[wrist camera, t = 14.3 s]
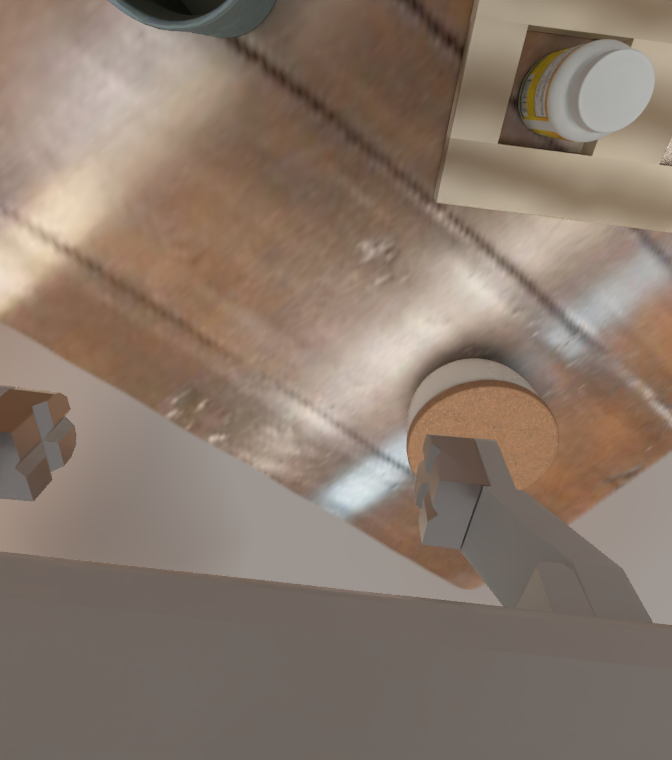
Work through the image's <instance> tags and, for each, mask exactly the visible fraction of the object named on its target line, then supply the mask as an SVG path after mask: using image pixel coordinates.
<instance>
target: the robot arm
mask: <svg viewBox="0 0 672 760" xmlns="http://www.w3.org/2000/svg"><path fill="white" fill-rule="evenodd" d="M69 411H70V407H69V403H68V399H67V397H66V396H64V395H63V394H61V393H58V392H50V391H42V390H35V389H27V388H20V387H17V388H16V387H11V386H1V385H0V499H12V500H24V501H34V500H35V499H36V498H37V497H38V496H39V494H40V493H41V492H42V491H43V490H44V489H45V488H46V486H47V485H48V484H49V483H50V482H51V481H52V474H51V472H52V471H54V470H56V469H58V468H60V467H62V466H64V465H65V464H66V463H67V461H68V460H69V459H70V458H71V456H72V454H73V451H74V448H75V445H76V432H75V427H74V425H73V424H72V423H71V422H70V421H69V420H68V419H67V418H66V415H67V414H68V412H69ZM423 455H424V460H423V461H421V462H420V463H419V465H418V469H417V474H416V483H415V498H416V505H417V506H418V507H419V508H420V509H421V511H420V515H419V519H418V521H419V528H420V536H421V543H422V544H425V545H432V546H439V547H447V548H454V549H461V552H462V554H463V555H464V556H465V557H466V559H467V560H468V561H469V563H470V564H471V565H472V566H473V568H474V569H475V570H476V572H477V573H478V574H479V575H480V577H481V578H482V579H483V581H484V582H485V583H486V584H487V586H488V587H489V588H490V590H491V591H492V592H493V593H494V595H495V596H496V597H497V598H498V600H499V601H500V602H501V603H502V605H503V606H504V607H502V606H492V605H484V604H474V603H465V602H456V601H447V600H438V599H428V598H419V597H410V596H400V595H391V594H382V593H373V592H363V591H354V590H344V589H336V588H327V587H317V586H309V585H301V584H291V583H283V582H274V581H265V580H256V579H247V578H237V577H228V576H219V575H210V574H201V573H193V572H183V571H174V570H165V569H156V568H147V567H138V566H137V567H136V566H128V565H119V564H110V563H101V562H92V561H82V560H73V559H64V558H55V557H46V556H37V555H28V554H17V553H9V552H0V760H672V625H666V624H657V623H653V622H652V620H651V618H650V616H649V615H648V613H647V611H646V609H645V608H644V606H643V604H642V602H641V600H640V599H639V597H638V595H637V593H636V592H635V590H634V588H633V586H632V584H631V583H630V581H629V579H628V577H627V576H626V574H625V572H624V570H623V569H622V568H621V567H620V566H618V565H617V564H616V563H615V562H613V561H612V560H611V559H610V558H608V557H607V556H606V555H605V554H603V553H602V552H601V551H599V550H598V549H597V548H596V547H594V546H593V545H592V544H591V543H589V542H588V541H587V540H586V539H584V538H583V537H582V536H580V535H579V534H578V533H577V532H575V531H574V530H573V529H572V528H570V527H569V526H568V525H567V524H565V523H564V522H563V521H562V520H560V519H559V518H558V517H557V516H555V515H554V514H553V513H551V512H550V511H549V510H548V509H546V508H545V507H544V506H543V505H541V504H540V503H539V502H538V501H536V500H535V499H534V498H532V497H531V496H530V495H529V494H527V493H526V492H525V491H524V490H517V489H516V487H515V484H514V482H513V479H512V477H511V474H510V472H509V470H508V467H507V465H506V462H505V460H504V458H503V455H502V453H501V450H500V448H499V445H498V443H497V442H496V441H495V440H494V439H482V438H464V437H454V436H444V435H434V434H427V435H426V438H425V440H424V444H423Z"/></svg>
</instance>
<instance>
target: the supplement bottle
mask: <svg viewBox="0 0 672 760" xmlns="http://www.w3.org/2000/svg"><path fill="white" fill-rule="evenodd" d="M654 85H655V72H654V68H653V65H652V63H651V61H650V59H649V58H648V57H647V56H646V55H645V54H644V53H642V52H640V51H638V50H635V49H632V48H631V47H630V46H628V45H627V44H625V43H623V42H621V41H618V40H614V39H601V40H596V41H592V42H588V43H585V44H581V45H577V46H574V47H570V48H566V49H562V50H559V51H556V52H553V53H550V54H548V55H546V56H545V57H543V58H542V59H541V60H539V61H538V62H537V63H536V64H535V65H534V66H533V67H532V68H531V70H530V71H529V72H528V74H527V75H526V77H525V79H524V81H523V83H522V86H521V89H520V93H519V99H518V108H519V113H520V116H521V119H522V121H523V123H524V124H525V126H526V127H527V128H528V129H529V130H531V131H532V132H534V133H536V134H538V135H542V136H547V137H552V138H558V139H563V140H567V141H573V142H590V141H594V140H598V139H600V138H603V137H605V136H607V135H608V134H610V133H612V132H615V131H617V130H620V129H622V128H624V127H626V126H628V125H629V124H631V123H632V122H633V121H634V120H635V119H636V118H637V117H638V116H639V115H640V114H641V113H642V112H643V110H644V109H645V108H646V106H647V104H648V103H649V101H650V99H651V96H652V93H653V90H654Z"/></svg>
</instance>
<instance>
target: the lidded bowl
mask: <svg viewBox="0 0 672 760" xmlns="http://www.w3.org/2000/svg"><path fill="white" fill-rule="evenodd" d="M406 432H407V455H408V461H409V464H410V467H411V469H412V471H413V473H414V474H415V476H416V474H417V469H418V465H419V463H420V462H421V461H423V460H424V455H423V444H424V440H425V438H426V435H427V434H434V435H444V436H454V437H464V438H482V439H494V440H495V441H496V442H497V443H498V445H499V448H500V450H501V453H502V455H503V458H504V460H505V462H506V465H507V467H508V470H509V472H510V474H511V477H512V479H513V482H514V484H515V487H516V489H517V490H524V489H526V488H527V487H529V486H530V485H532V484H533V483H534V482H536V481H537V480H538V479H539V478H540V477H541V476H542V475H543V474H544V473H545V472H546V471H547V469H548V468H549V466H550V465H551V463H552V462H553V459H554V457H555V455H556V453H557V448H558V444H559V431H558V426H557V423H556V420H555V418H554V416H553V414H552V412H551V411H550V409H549V408H548V407H547V405H546V404H545V402H544V401H543V400H542V399H541V398H540V397H539V395H538V394H537V393H536V391H535V390H534V388H533V387H532V386H531V385H530V384H529V383H528V382H527V381H526V380H525V379H524V378H523V377H522V376H521V375H519V374H518V373H516V372H515V371H514V370H512V369H510V368H509V367H507V366H505V365H503V364H500V363H498V362H495V361H491V360H487V359H479V358H471V359H462V360H457V361H454V362H450V363H448V364H446V365H443V366H441V367H439V368H438V369H436V370H435V371H433V372H432V373H431V374H430V375H428V376H427V377H426V378H425V379H424V380H423V381H422V383H421V384H420V385H419V387H418V388H417V390H416V392H415V393H414V395H413V397H412V400H411V402H410V406H409V410H408V415H407V429H406Z"/></svg>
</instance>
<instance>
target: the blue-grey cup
mask: <svg viewBox="0 0 672 760" xmlns="http://www.w3.org/2000/svg"><path fill="white" fill-rule="evenodd" d="M108 1H109V2H110V3H112V4H113V5H114V6H115V7H117V8H118V9H119V10H121V11H122V12H124V13H125V14H127V15H129V16H130V17H132V18H133V19H135V20H137V21H139V22H141V23H143V24H145V25H148V26H151V27H155V28H158V29H162V30H170V31H186V32H192V33H197V34H203V35H211V36H216V37H221V38H232V37H237V36H240V35H243V34H246V33H248V32H249V31H251V30H253V29H254V28H256V27H257V26H258V25H259V24H260V23H261V22H262V21H263V20H264V19H265V18H266V17H267V15H268V14H269V13H270V11H271V10H272V8H273V6H274V4H275V2H276V0H108Z"/></svg>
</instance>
